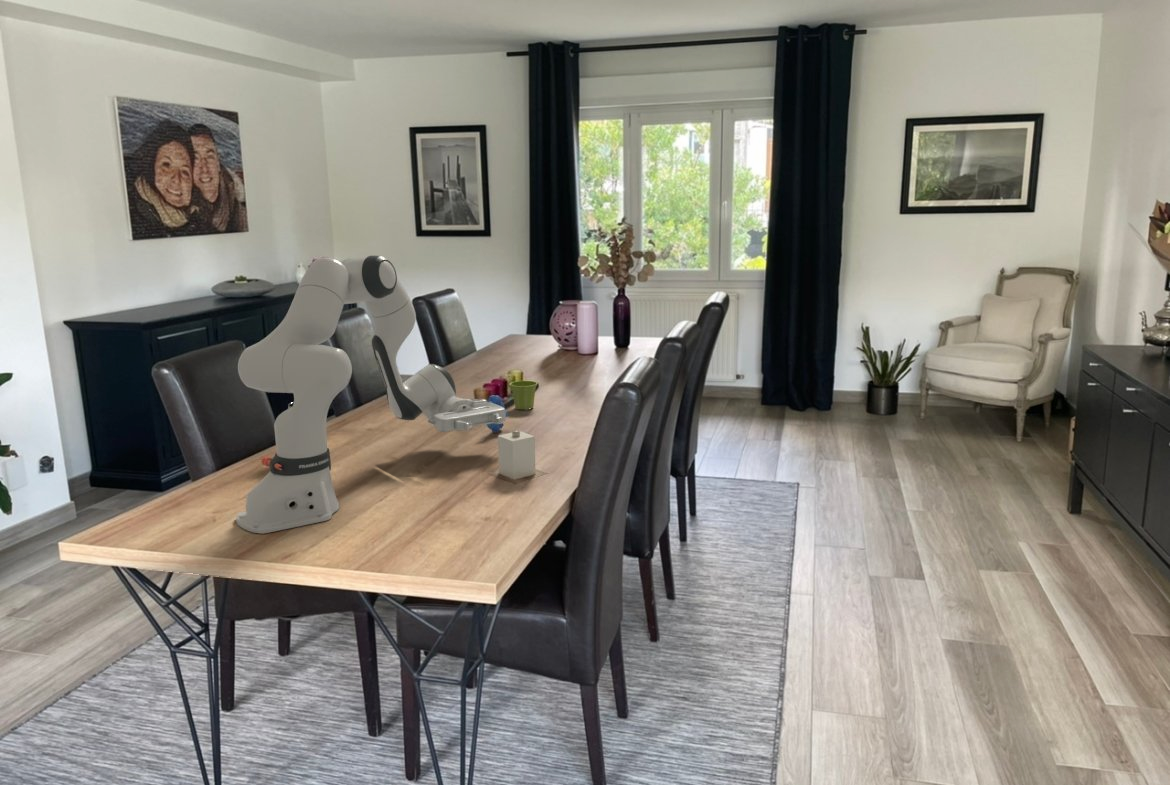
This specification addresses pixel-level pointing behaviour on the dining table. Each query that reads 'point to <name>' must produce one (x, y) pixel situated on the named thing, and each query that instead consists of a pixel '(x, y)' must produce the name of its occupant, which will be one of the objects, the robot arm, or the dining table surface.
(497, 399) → the blue bumpy lump
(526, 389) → the plant pot
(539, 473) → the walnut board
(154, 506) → the dining table surface
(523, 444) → the cover
